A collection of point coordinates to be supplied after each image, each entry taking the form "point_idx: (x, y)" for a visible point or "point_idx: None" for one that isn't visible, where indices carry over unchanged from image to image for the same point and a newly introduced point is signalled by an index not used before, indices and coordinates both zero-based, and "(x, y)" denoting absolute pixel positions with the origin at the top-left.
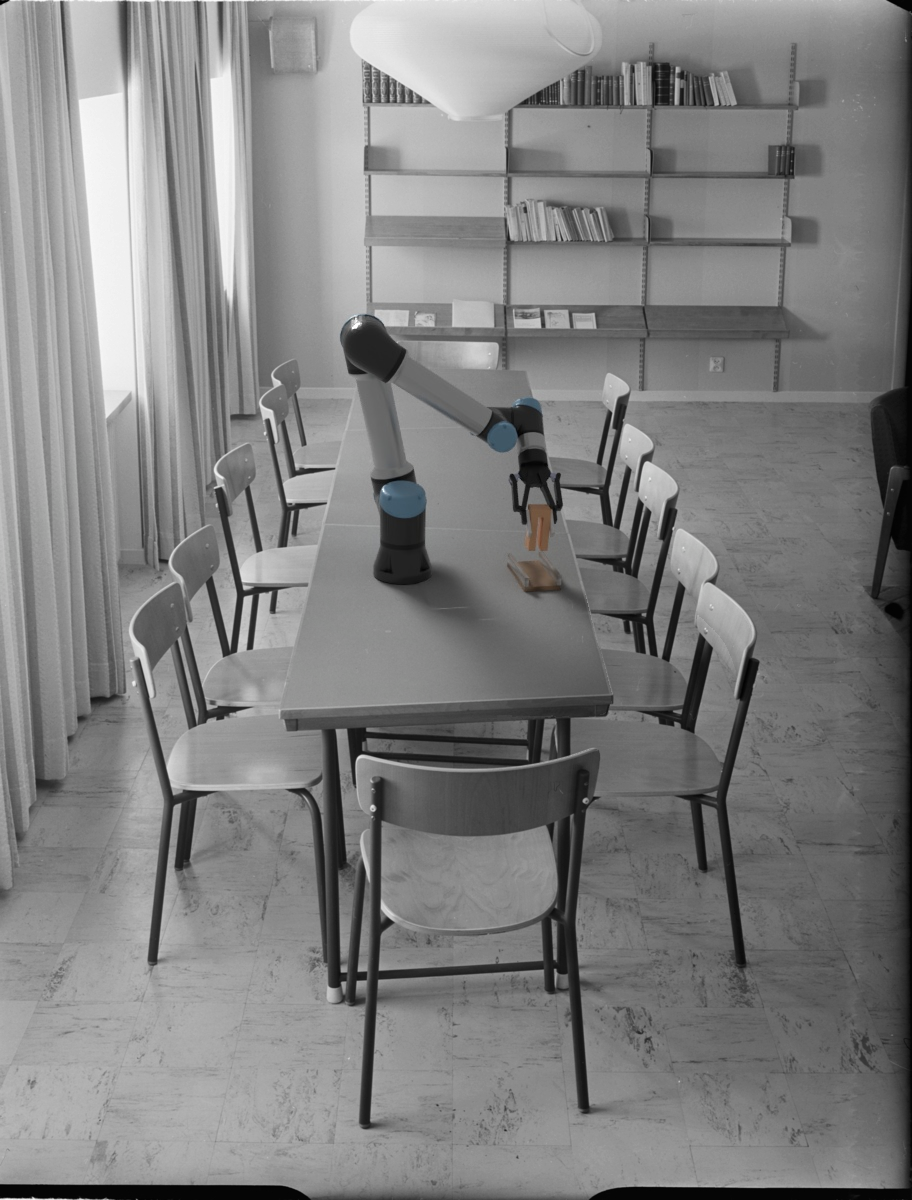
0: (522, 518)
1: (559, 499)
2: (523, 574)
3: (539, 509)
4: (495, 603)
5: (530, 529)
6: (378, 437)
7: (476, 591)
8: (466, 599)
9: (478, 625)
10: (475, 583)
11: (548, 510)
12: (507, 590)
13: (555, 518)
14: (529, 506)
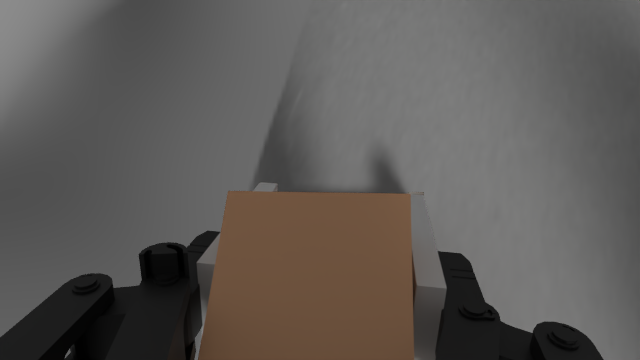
0: (470, 274)
1: (49, 324)
2: None
3: (335, 201)
4: (527, 143)
5: (411, 203)
6: None
7: (592, 248)
8: (628, 185)
9: (585, 21)
10: (597, 329)
11: (256, 192)
12: (473, 240)
13: (205, 242)
14: (412, 312)
